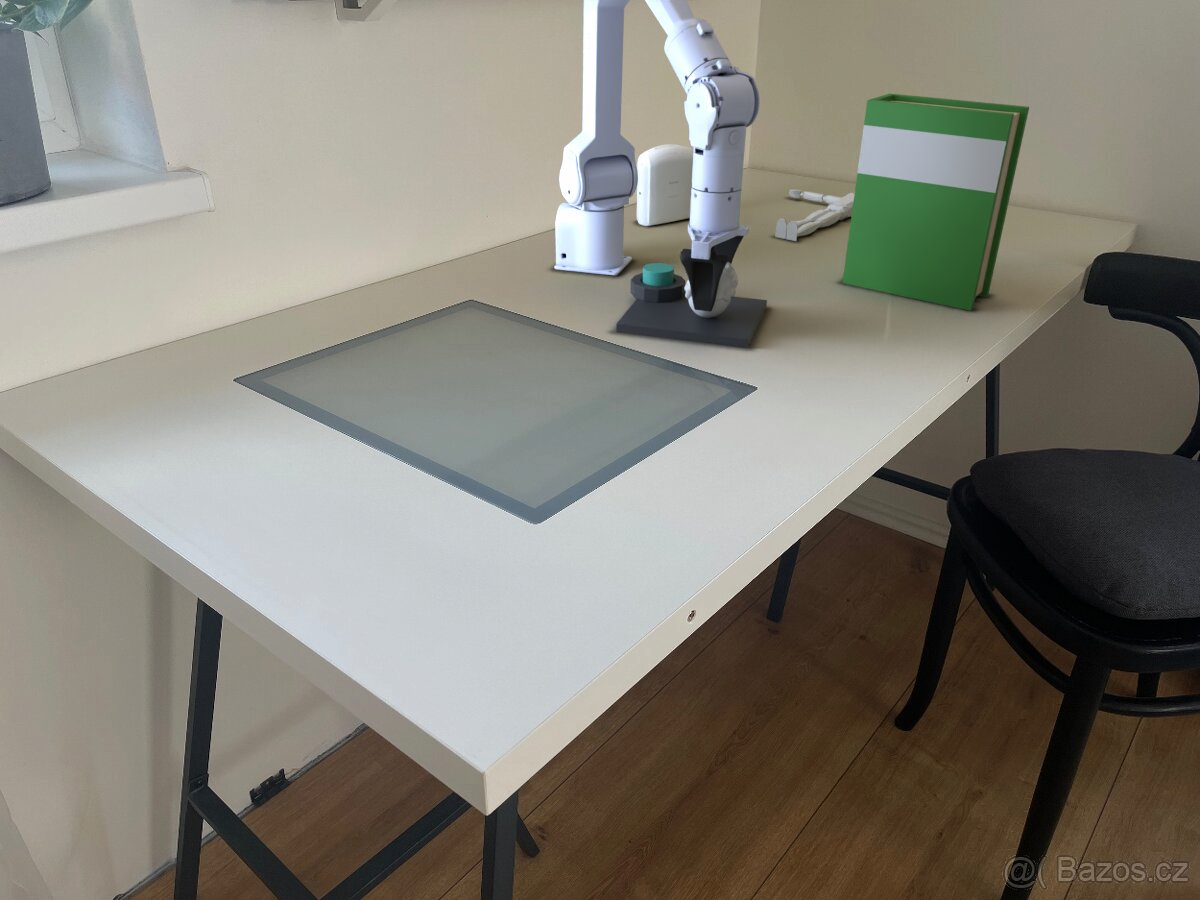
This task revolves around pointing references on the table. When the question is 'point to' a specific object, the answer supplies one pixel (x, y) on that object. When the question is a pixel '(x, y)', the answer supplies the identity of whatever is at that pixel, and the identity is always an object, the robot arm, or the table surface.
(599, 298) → the table surface
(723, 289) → the white rounded lumpy piece
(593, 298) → the table surface
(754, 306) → the scale
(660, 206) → the photo printer
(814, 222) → the artist's mannequin
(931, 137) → the hardback book
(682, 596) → the table surface
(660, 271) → the button
